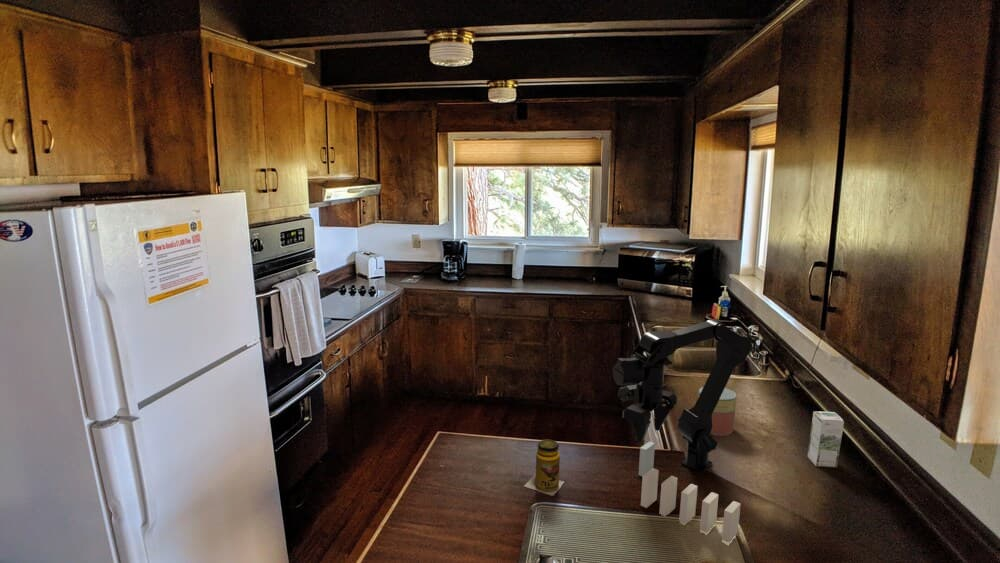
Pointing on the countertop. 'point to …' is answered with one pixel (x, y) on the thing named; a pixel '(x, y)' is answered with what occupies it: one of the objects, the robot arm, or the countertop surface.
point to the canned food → (723, 413)
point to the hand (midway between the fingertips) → (648, 435)
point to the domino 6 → (731, 521)
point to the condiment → (546, 468)
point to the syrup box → (825, 439)
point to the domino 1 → (646, 458)
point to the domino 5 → (709, 512)
